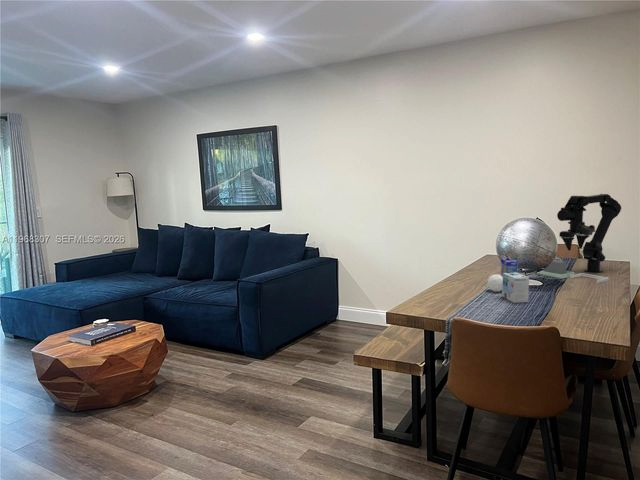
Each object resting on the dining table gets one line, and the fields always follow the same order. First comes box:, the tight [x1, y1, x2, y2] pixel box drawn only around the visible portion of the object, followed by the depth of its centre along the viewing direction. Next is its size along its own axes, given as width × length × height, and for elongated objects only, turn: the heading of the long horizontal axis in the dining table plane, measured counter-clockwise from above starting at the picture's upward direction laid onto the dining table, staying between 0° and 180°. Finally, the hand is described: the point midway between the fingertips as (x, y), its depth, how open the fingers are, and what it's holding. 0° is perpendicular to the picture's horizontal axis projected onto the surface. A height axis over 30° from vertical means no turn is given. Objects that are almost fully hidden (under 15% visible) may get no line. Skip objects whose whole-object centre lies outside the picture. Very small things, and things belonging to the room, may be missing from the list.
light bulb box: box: [501, 272, 530, 304], centre depth 199 cm, size 11×7×11 cm, turn 5°
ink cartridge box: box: [500, 254, 519, 277], centre depth 225 cm, size 10×6×14 cm, turn 174°
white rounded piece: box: [487, 274, 503, 293], centre depth 212 cm, size 8×8×12 cm
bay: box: [569, 272, 610, 284], centre depth 232 cm, size 10×14×2 cm
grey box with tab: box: [543, 257, 567, 275], centre depth 243 cm, size 5×9×9 cm, turn 28°
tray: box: [534, 270, 576, 280], centre depth 244 cm, size 11×15×2 cm
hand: (574, 249), depth 243 cm, fingers open, 9 cm apart
